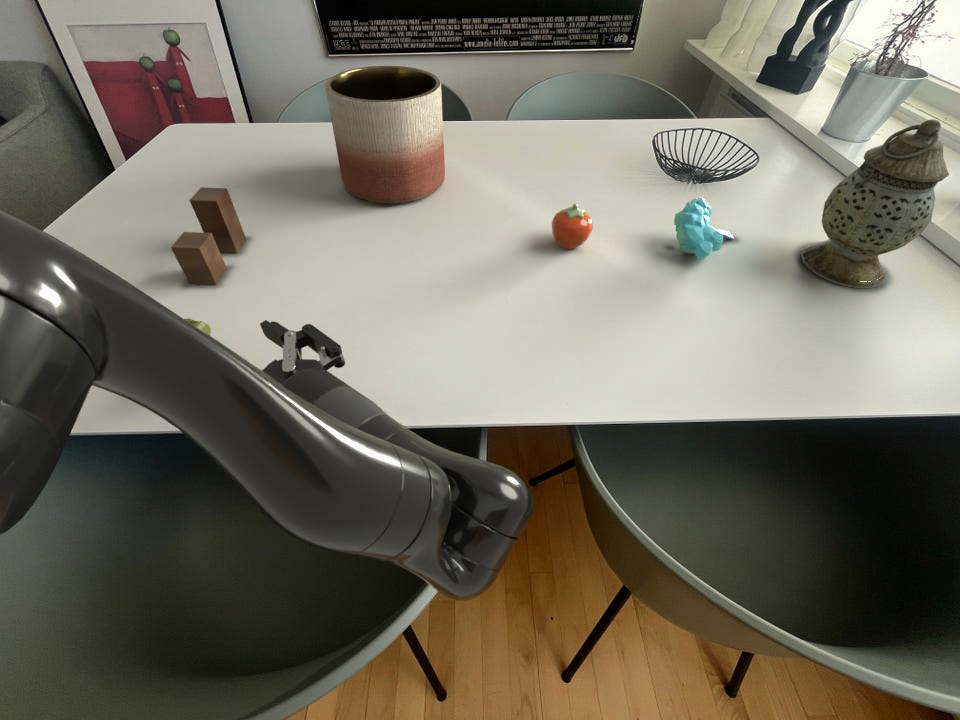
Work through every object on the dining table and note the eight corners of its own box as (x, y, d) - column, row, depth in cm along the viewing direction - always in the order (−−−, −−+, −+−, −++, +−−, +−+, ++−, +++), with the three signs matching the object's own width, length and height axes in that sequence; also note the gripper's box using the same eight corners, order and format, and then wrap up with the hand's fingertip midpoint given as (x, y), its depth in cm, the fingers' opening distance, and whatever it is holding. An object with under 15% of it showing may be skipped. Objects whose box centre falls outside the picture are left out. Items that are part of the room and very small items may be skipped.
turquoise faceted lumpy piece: (680, 237, 99) (648, 221, 89) (720, 209, 94) (692, 188, 83) (706, 281, 96) (676, 270, 85) (749, 254, 90) (723, 238, 79)
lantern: (888, 298, 80) (1010, 147, 62) (796, 275, 84) (885, 127, 66) (880, 256, 89) (984, 113, 71) (796, 237, 93) (875, 97, 75)
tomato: (594, 240, 91) (603, 201, 85) (578, 259, 86) (586, 219, 81) (559, 228, 93) (565, 189, 88) (542, 246, 89) (547, 206, 83)
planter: (354, 160, 113) (337, 63, 98) (447, 162, 113) (445, 66, 99) (333, 207, 97) (310, 100, 83) (442, 209, 98) (438, 103, 83)
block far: (237, 253, 85) (216, 201, 78) (212, 252, 85) (189, 200, 78) (246, 239, 89) (227, 188, 81) (222, 238, 89) (200, 187, 81)
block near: (216, 284, 79) (199, 248, 74) (189, 283, 79) (170, 247, 74) (227, 268, 82) (211, 232, 77) (200, 267, 82) (183, 231, 77)
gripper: (381, 352, 46) (275, 288, 52) (253, 453, 38) (147, 362, 44) (391, 401, 51) (294, 338, 58) (280, 499, 43) (182, 412, 50)
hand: (230, 348), depth 51 cm, fingers open, 8 cm apart
